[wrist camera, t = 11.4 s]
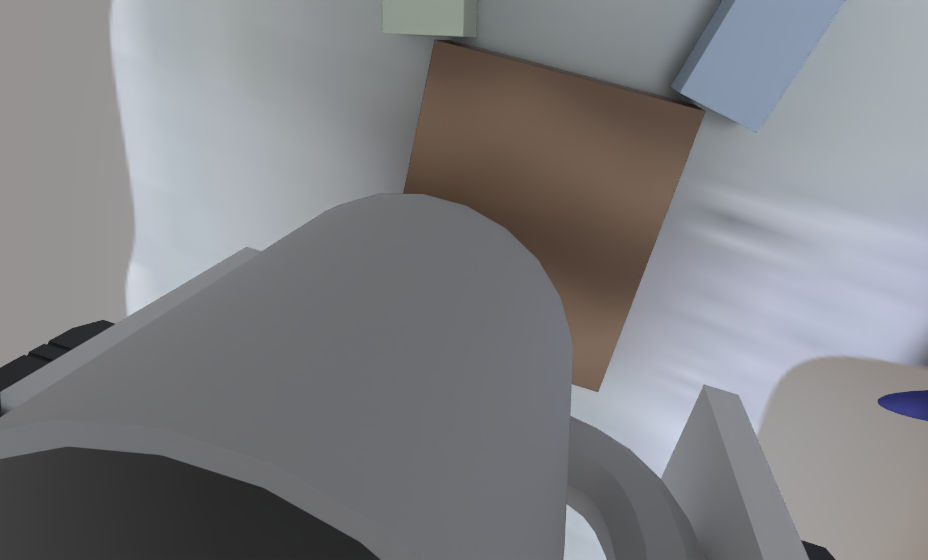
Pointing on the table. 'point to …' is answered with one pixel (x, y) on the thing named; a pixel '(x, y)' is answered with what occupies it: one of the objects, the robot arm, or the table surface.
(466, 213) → the cup
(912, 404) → the toy
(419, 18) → the brick sage
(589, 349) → the slab
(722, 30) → the brick blue
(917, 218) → the table surface
